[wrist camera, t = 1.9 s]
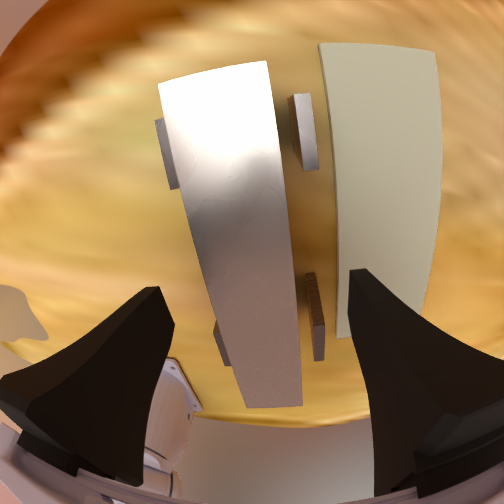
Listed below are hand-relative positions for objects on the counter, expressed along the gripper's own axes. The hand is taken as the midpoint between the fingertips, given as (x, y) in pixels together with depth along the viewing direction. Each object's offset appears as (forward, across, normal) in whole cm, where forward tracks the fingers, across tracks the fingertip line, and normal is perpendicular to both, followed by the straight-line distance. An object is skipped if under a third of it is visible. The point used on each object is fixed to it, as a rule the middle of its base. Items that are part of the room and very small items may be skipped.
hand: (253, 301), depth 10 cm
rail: (+4, 0, 0) cm, 4 cm away
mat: (+8, -8, 0) cm, 11 cm away
